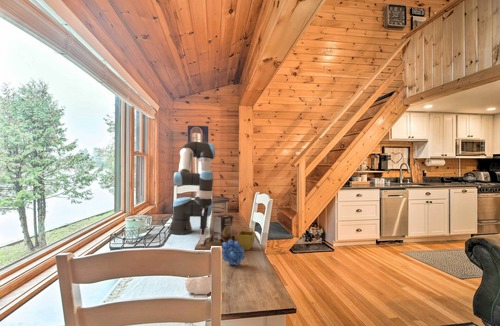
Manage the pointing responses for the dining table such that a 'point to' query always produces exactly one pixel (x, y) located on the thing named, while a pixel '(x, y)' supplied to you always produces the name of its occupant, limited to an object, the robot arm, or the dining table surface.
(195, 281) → the bust
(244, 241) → the flower pot
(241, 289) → the dining table surface
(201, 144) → the robot arm
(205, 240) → the latch bar
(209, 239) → the stand
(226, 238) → the coffee box
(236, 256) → the blue flower head
